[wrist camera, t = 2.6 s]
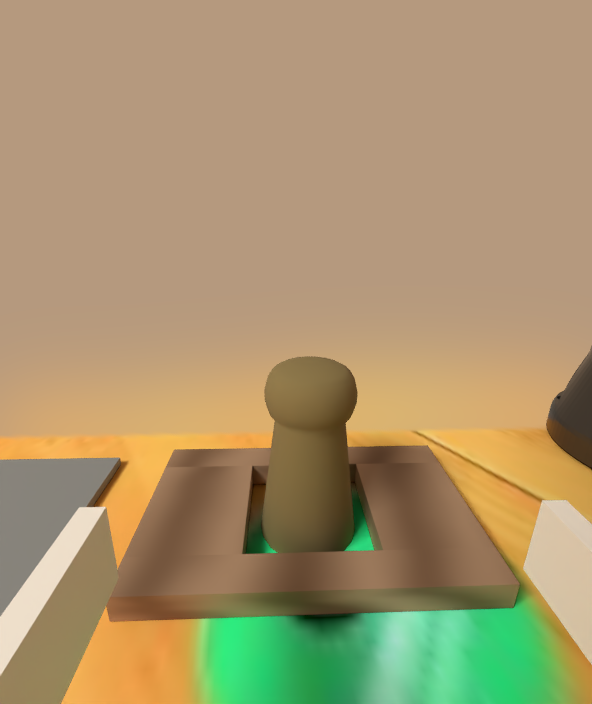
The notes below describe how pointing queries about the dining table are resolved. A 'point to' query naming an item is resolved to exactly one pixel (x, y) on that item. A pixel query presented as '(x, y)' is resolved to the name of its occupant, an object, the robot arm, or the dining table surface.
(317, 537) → the brown tall rounded piece
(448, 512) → the walnut holder
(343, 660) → the dining table surface
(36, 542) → the gray mat
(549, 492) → the dining table surface
